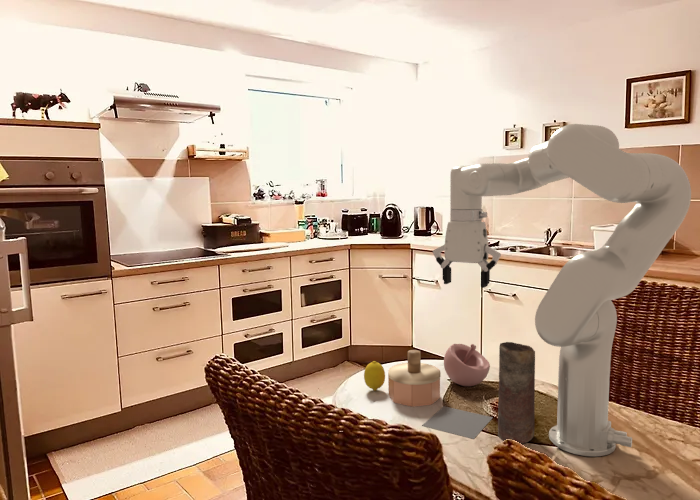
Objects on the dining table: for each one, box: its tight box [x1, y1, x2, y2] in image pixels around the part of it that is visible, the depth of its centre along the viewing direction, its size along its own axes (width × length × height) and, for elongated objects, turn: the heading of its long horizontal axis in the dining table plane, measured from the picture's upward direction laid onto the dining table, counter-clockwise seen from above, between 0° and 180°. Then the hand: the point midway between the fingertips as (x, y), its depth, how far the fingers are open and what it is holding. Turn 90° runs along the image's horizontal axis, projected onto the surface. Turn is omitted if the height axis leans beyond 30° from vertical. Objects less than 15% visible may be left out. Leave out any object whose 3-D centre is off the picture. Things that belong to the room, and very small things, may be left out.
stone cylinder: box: [497, 341, 536, 444], centre depth 111 cm, size 8×7×20 cm
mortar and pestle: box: [443, 343, 491, 387], centre depth 142 cm, size 12×12×11 cm
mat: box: [421, 405, 494, 440], centre depth 119 cm, size 12×12×1 cm
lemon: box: [363, 360, 386, 392], centre depth 139 cm, size 6×6×8 cm
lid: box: [387, 349, 442, 385], centre depth 133 cm, size 13×13×6 cm
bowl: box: [387, 376, 441, 408], centre depth 134 cm, size 12×12×6 cm
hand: (465, 285), depth 133 cm, fingers open, 9 cm apart
